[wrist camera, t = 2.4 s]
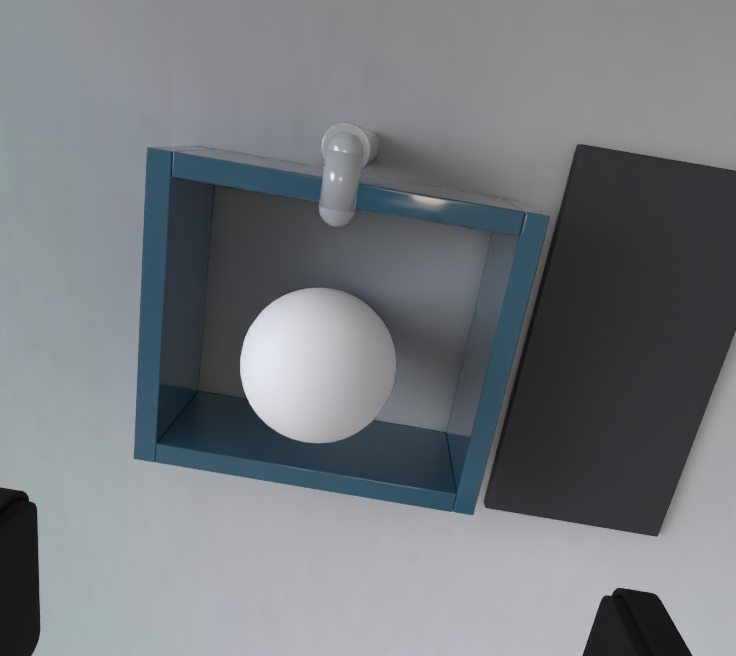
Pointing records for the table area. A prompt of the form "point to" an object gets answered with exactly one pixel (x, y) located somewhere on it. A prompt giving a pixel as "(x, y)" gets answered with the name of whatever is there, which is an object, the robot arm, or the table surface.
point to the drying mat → (621, 342)
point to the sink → (235, 415)
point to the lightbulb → (318, 365)
